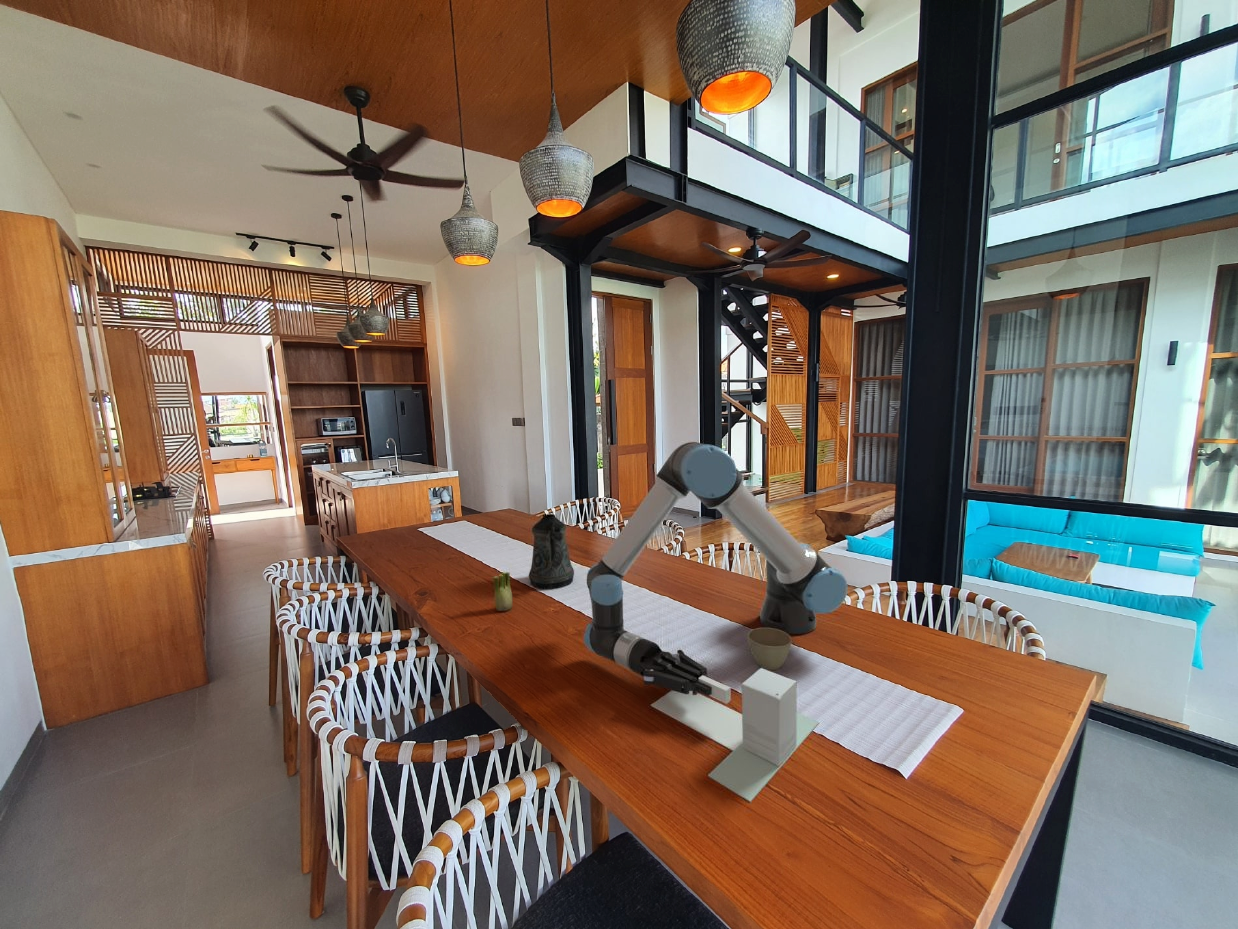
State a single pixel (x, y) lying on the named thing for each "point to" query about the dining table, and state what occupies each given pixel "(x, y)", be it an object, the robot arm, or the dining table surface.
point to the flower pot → (769, 647)
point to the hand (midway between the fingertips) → (728, 695)
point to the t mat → (728, 740)
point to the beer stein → (550, 555)
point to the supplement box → (769, 715)
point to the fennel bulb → (503, 592)
